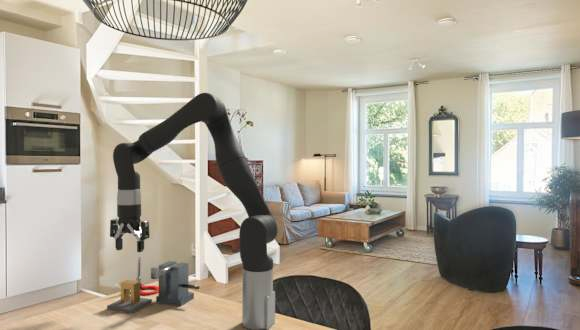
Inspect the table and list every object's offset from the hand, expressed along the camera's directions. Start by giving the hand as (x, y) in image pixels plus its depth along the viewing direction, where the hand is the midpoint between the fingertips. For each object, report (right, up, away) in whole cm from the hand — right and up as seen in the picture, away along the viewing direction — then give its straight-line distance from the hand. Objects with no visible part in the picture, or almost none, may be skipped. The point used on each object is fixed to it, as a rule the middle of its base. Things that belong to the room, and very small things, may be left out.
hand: (129, 250), depth 137 cm
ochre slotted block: (0, -18, +1) cm, 18 cm away
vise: (+15, -19, +2) cm, 24 cm away
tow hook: (+1, -19, +15) cm, 24 cm away
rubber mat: (0, -19, +1) cm, 19 cm away
